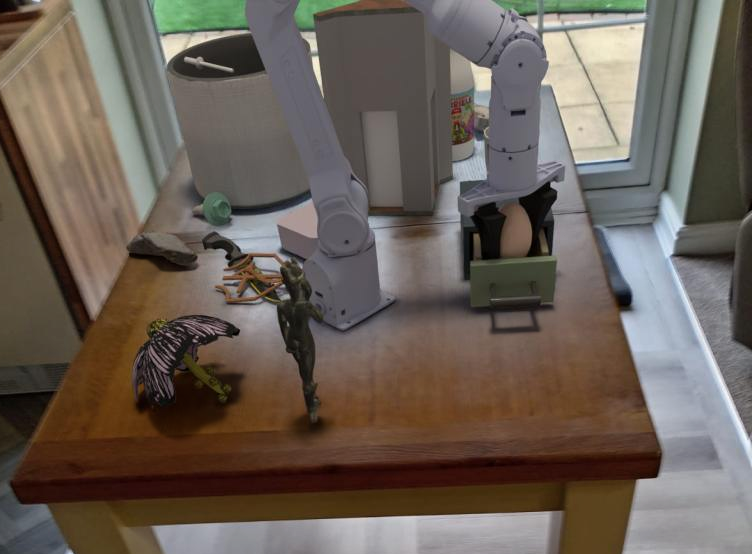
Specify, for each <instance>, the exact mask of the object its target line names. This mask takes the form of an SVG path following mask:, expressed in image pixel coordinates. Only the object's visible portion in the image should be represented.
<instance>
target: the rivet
mask: <svg viewBox="0 0 752 554" xmlns="http://www.w3.org/2000/svg"><path fill="white" fill-rule="evenodd" d="M184 61H185V63H189V64H193V65H196V67H197V68H198V69H202V68H203V66H206V67H210V68H214V69H218V70H222V71H227V72H231V73H233V72H234V70H233V69H231V68H227V67H223V66H219V65H214V64H210V63H206V62H204V60H203V58H202V57H198V58H197V59H194V58H189V57H185V58H184Z"/></svg>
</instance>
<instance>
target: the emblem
mask: <svg viewBox="0 0 752 554" xmlns="http://www.w3.org/2000/svg"><path fill="white" fill-rule="evenodd" d="M248 254H249V255H248V256H247V257H246V258H245V259H244V260H243V261H241V262H240V263H238V264H236V265H234V266H232V267H225V268H223V272H230V271H234V270H236V269H237V268H239V267H241V266H242V265H244V264H245V263H246V262H247V261H248V260H249V259H250V258H251V257H254V258H270V259H271V258H273V259H275V260H276V261H277V262H278V264H280V266H283V262H284V261H283V260H282V259H281V258H280V257H279V256H278V255H277V254H276V253H263V252H262V253H260V252H259V253H257V252H249V253H248ZM254 265H255V266H256V262H255V261H253V262H250V264H249V266H248V268H247V267H245V268H243V269H241V270H239V271H238V270H236V272H235V273H232V274H231V275H223V276H222V277H221V279H222V281H240V283H239V285H238V287H237V289H236V294H242V292H243V290H244V288H245V286H246V284H247V282H248V280H253V279H259V280H260V281H263V282H265V283H271V285H272V284H275V285H274V286H272V287H271V288H269V289H267V290H266V291H264V292H262V293H260V294H259V293H258V294H257V295H255V296H248V297H237V298H235V297H234V298H231V296H232V295H231V292H230V291H229V289H228V288H227V287H226V286H224V285H220V284H217V285H216V284H215V285H214V288H215V289H217V290H222V291H223V292H224V293H225V296H226V299H225V303H226V304H235V303H245V302H246V303H247V302H256V301H258V300H260V299H261V298H264V297H263V296H264V295H266V294H268V293H270V292H271V291H273V290H277V289H278V288H281V286H284V284H283V282H282V280H281V277H282V275H281V273H270V274H263V275H260V274H258V273H257V272H256V271H255V270H253V267H254ZM245 271H246V273H245V275H243V274H242V273H241V272H245ZM250 273H252V274H253V275H250ZM239 274H240V275H239Z"/></svg>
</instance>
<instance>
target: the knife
mask: <svg viewBox="0 0 752 554" xmlns="http://www.w3.org/2000/svg"><path fill="white" fill-rule="evenodd" d="M201 243H202V246H203V250H204V251H207V250H209V249H211V250H214V251H216V250H217V251H218V250H223V251H225V252H226V254H225V255H224V259H225V260H226V261H228V262H227V268H229V267H232V266H234V265H236V264H238V263H240V262H241V261H243V260H244V259H245V258H246V257H247V256H248V255H249V253H244V252H242V250H241V248H240V245H239V246H238V245H237V244H236V243H235V242H234V241H233V240H231V239H230V238H227V237H225V236H222V235H221V234H220V233H219V232H218V231H215V230H213V231H212V232H210V233H207V235H205V236H204V237H203V238H202V239H201ZM254 259H255V257H251V258H250V259H249V260H248V261H247V262H246V263H245V264H244V265H242V266H241V267H239V268H237V269H235V270H236V271H239V270H241V269H243V268H245V267H247V268H248V266H249V264H250V262H254ZM253 270H255V271H256V272H257V273H258V274H260V275H264V274H263V272H262V271H261V270H260V268H258V266H256V264H255V265H254V267H253ZM245 273H246V271H245V272H241V273H240V274H241V275H245ZM250 275H253V274H252V273H250ZM247 282H248V283H249V284H250V285H251V286H252V287H253V288H254V290H255V291H256V292H257V293H258V295H259V294H260V293H262V292H264V291H266V290H267V289H269V288H271V287H272V286H274V285H276V283H272V284H271V283H265V282H263V281H260V280H259V279H253V280H247ZM262 298H264V299H267V300H269V301H272V302H276V303H279V302H280V301H282V299H281V298H280V297H279V295H278V293H277V289H275V290H273V291H271V292H270V293H268V294H266V295H264V296H263V297H262Z"/></svg>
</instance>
